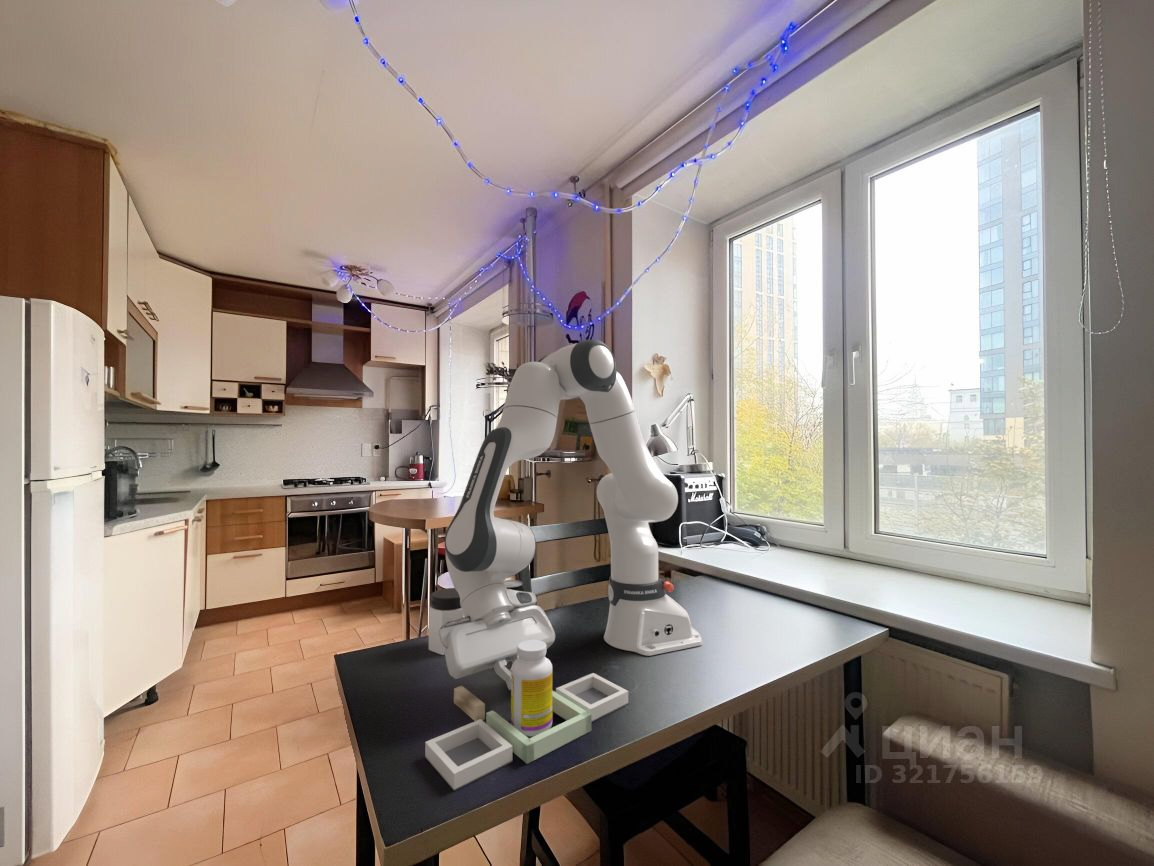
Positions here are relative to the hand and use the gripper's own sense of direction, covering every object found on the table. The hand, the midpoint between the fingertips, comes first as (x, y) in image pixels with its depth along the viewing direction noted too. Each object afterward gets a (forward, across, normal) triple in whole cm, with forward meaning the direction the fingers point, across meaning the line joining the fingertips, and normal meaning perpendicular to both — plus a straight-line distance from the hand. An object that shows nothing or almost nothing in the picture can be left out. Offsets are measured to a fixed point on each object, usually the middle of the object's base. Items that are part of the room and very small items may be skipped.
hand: (518, 685), depth 81 cm
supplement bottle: (+6, 0, +1) cm, 6 cm away
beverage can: (-18, +18, +26) cm, 37 cm away
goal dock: (+7, 0, 0) cm, 7 cm away
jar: (-20, +4, +27) cm, 34 cm away
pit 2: (+7, +12, 0) cm, 14 cm away
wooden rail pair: (-1, 0, +8) cm, 8 cm away
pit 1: (+7, -12, 0) cm, 14 cm away
